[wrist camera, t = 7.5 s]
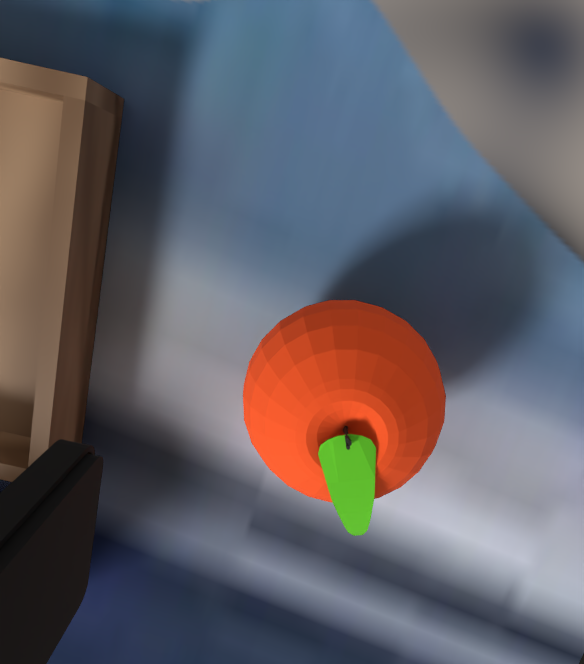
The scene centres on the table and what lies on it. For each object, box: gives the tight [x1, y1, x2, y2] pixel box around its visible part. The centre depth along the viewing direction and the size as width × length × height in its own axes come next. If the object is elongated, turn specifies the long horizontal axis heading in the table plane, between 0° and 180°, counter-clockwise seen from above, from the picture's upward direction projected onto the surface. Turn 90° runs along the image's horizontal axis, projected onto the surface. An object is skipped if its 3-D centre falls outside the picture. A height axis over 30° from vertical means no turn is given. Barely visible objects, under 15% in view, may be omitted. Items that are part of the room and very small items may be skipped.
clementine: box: [243, 300, 446, 536], centre depth 17 cm, size 8×7×7 cm
